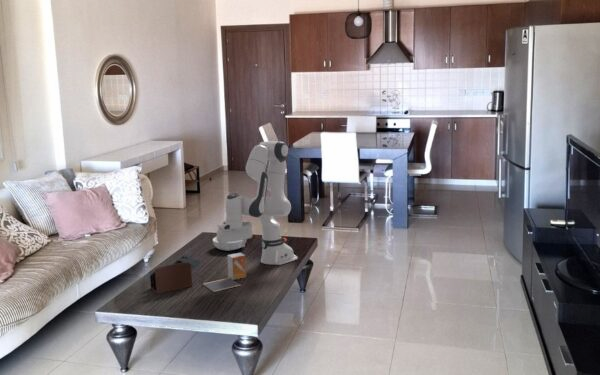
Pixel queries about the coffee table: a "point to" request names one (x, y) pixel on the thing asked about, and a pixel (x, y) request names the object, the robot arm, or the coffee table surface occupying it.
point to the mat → (221, 284)
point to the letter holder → (171, 277)
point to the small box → (236, 266)
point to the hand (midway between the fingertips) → (235, 248)
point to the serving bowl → (228, 244)
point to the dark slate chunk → (188, 261)
